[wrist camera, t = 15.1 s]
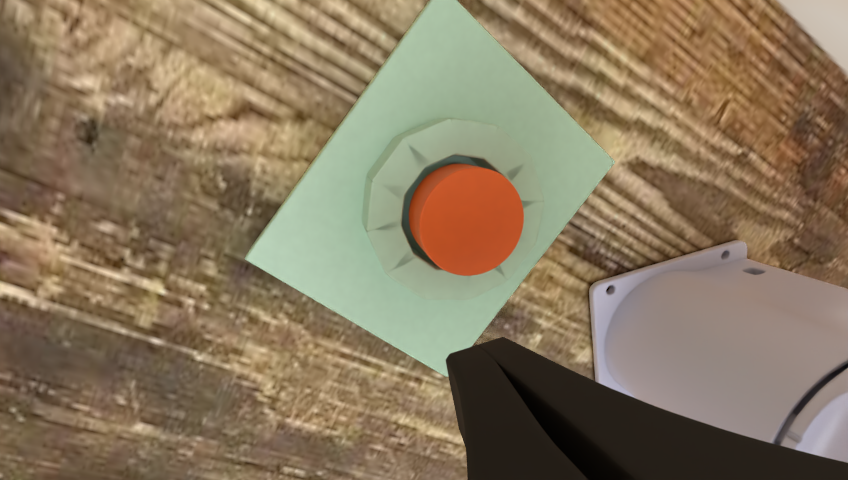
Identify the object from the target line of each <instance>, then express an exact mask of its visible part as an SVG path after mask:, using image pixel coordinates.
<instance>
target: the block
mask: <svg viewBox="0 0 848 480" xmlns="http://www.w3.org/2000/svg"><path fill="white" fill-rule="evenodd" d="M457 163H461V164H469V165H473V166H478V167H482V168H486V169H490V170H493V171H496V172H498V173H499V174H501V175H503V176H504V177H505V178H507V179H508V180H509V181H510V182H511V183H512V185H513V186H514V187H515V189H516V190H517V192H518V194H519V196H520V199H521V201H522V205H523V212H524V223H523V229H522V233H521V236H520V239H519V242H518V243H517V245H516V247H515V249H514V250H513V252H512V253H511V254H510V255H509V257H508V258H507V259H506V260H505V261H504V262H502V263H501V264H500V265H498V266H497V267H496V268H494V269H492V270H490V271H488V272H485V273H482V274H478V275H472V276H462V275H456V274H452V273H449V272H447V271H445V270H443V269H442V268H440V267H439V266H437V265H436V264H435V263H434V262H433V261H432V260H431V259H430V258H429V257H428V255H427V254H426V253H425V252H424V251H423V250H422V248H421V247H420V246H419V245H418V243H417V242H416V241H415V239H414V237H413V235H412V232H411V229H410V225H409V206H410V202H411V199H412V196H413V194H414V192H415V190H416V188H417V187H418V185H419V184H420V183H421V181H422V180H423V179H424V178H425V177H426V176H427V175H428V174H430V173H431V172H433V171H434V170H436V169H438V168H440V167H443V166H445V165H450V164H457ZM614 163H615V161H614V160H613V159H612V158H611V157H610V156H609V155H608V154H607V153H606V152H605V151H604V150H603V149H602V148H601V147H600V146H599V145H598V143H597V142H596V141H595V140H594V139H593V138H592V137H591V136H590V135H589V134H588V133H587V132H586V131H585V130H584V129H583V128H582V127H581V126H580V125H579V124H578V123H577V122H576V121H575V120H574V119H573V118H572V117H571V116H570V115H569V114H568V113H567V112H566V111H565V110H564V109H563V108H562V107H561V106H560V105H559V104H558V103H557V102H556V101H555V100H554V99H553V98H552V97H551V96H550V95H549V94H548V93H547V92H546V90H545V89H544V88H543V87H542V86H541V85H540V84H539V83H538V82H537V81H536V80H535V79H534V78H533V77H532V76H531V75H530V74H529V73H528V72H527V71H526V70H525V69H524V68H523V67H522V66H521V65H520V64H519V63H518V62H517V61H516V60H515V59H514V58H513V57H512V56H511V55H510V54H509V53H508V52H507V51H506V50H505V49H504V48H503V47H502V46H501V45H500V44H499V43H498V42H497V41H496V40H495V38H494V37H493V36H492V35H491V34H490V33H489V32H488V31H487V30H486V29H485V28H484V27H483V26H482V25H481V24H480V23H479V22H478V21H477V20H476V19H475V18H474V17H473V16H472V15H471V14H470V13H469V12H468V11H467V10H466V9H465V8H464V7H463V6H462V5H461V4H460V3H459V2H458V1H457V0H429V1H428V3H427V4H426V5H425V7H424V8H423V10H422V11H421V12H420V14H419V15H418V16H417V18H416V19H415V21H414V22H413V23H412V25H411V26H410V28H409V29H408V30H407V32H406V33H405V34H404V36H403V37H402V39H401V40H400V41H399V43H398V44H397V46H396V47H395V48H394V50H393V51H392V52H391V54H390V55H389V57H388V58H387V59H386V61H385V62H384V64H383V65H382V66H381V68H380V69H379V70H378V72H377V73H376V75H375V76H374V77H373V79H372V80H371V82H370V83H369V84H368V86H367V87H366V88H365V90H364V91H363V93H362V94H361V95H360V97H359V98H358V100H357V101H356V102H355V104H354V105H353V106H352V108H351V109H350V111H349V112H348V113H347V115H346V116H345V118H344V119H343V120H342V122H341V123H340V124H339V126H338V127H337V129H336V130H335V131H334V133H333V134H332V136H331V137H330V138H329V140H328V141H327V142H326V144H325V145H324V147H323V148H322V149H321V151H320V152H319V154H318V155H317V156H316V158H315V159H314V160H313V162H312V163H311V165H310V166H309V167H308V169H307V170H306V172H305V173H304V174H303V176H302V177H301V178H300V180H299V181H298V183H297V184H296V185H295V187H294V188H293V190H292V191H291V192H290V194H289V195H288V196H287V198H286V199H285V201H284V202H283V203H282V205H281V206H280V208H279V209H278V210H277V212H276V213H275V214H274V216H273V217H272V219H271V220H270V221H269V223H268V224H267V226H266V227H265V228H264V230H263V231H262V232H261V234H260V235H259V237H258V238H257V239H256V241H255V242H254V244H253V245H252V246H251V248H250V250H249V251H248V253H247V255H246V256H245V259H246V260H247V261H249V262H250V263H252V264H254V265H255V266H257V267H259V268H261V269H262V270H264V271H266V272H267V273H269V274H271V275H273V276H274V277H276V278H278V279H279V280H281V281H283V282H285V283H286V284H288V285H290V286H291V287H293V288H295V289H297V290H298V291H300V292H302V293H303V294H305V295H307V296H309V297H310V298H312V299H314V300H315V301H317V302H319V303H321V304H322V305H324V306H326V307H327V308H329V309H331V310H333V311H334V312H336V313H338V314H339V315H341V316H343V317H345V318H346V319H348V320H350V321H351V322H353V323H355V324H357V325H358V326H360V327H362V328H363V329H365V330H367V331H369V332H370V333H372V334H374V335H375V336H377V337H379V338H381V339H382V340H384V341H386V342H387V343H389V344H391V345H393V346H394V347H396V348H398V349H399V350H401V351H403V352H405V353H406V354H408V355H410V356H411V357H413V358H415V359H417V360H418V361H420V362H422V363H423V364H425V365H427V366H429V367H430V368H432V369H434V370H435V371H437V372H439V373H441V374H442V375H444V376H446V377H448V376H449V375H448V370H447V365H446V358H447V357H448V355H449V354H450V353H453V352H457V351H460V350H463V349H466V348H469V347H471V346H472V345H473V344H474V343H475V341H476V340H477V339H478V338H479V336H480V335H481V334H482V332H483V331H484V330H485V329H486V327H487V326H488V325H489V323H490V322H491V321H492V320H493V318H494V317H495V316H496V314H497V313H498V312H499V311H500V309H501V308H502V307H503V305H504V304H505V303H506V302H507V300H508V299H509V298H510V296H511V295H512V294H513V293H514V291H515V290H516V289H517V287H518V286H519V285H520V284H521V282H522V281H523V280H524V278H525V277H526V276H527V275H528V273H529V272H530V271H531V269H532V268H533V267H534V266H535V264H536V263H537V262H538V261H539V259H540V258H541V257H542V255H543V254H544V253H545V252H546V250H547V249H548V248H549V246H550V245H551V244H552V243H553V241H554V240H555V239H556V237H557V236H558V235H559V234H560V232H561V231H562V230H563V228H564V227H565V226H566V225H567V223H568V222H569V221H570V219H571V218H572V217H573V216H574V214H575V213H576V212H577V210H578V209H579V208H580V207H581V205H582V204H583V203H584V201H585V200H586V199H587V198H588V196H589V195H590V194H591V192H592V191H593V190H594V189H595V187H596V186H597V185H598V184H599V182H600V181H601V180H602V178H603V177H604V176H605V175H606V173H607V172H608V171H609V169H610V168H611V167H612V166H613V164H614Z"/></svg>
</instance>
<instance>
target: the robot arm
mask: <svg viewBox="0 0 848 480" xmlns="http://www.w3.org/2000/svg"><path fill="white" fill-rule="evenodd" d="M609 286H610V289H609V290H608V291H607V292H606V290H607V288H608V287H609ZM589 299H590V313H591V327H592V341H593V355H594V369H595V381H593V380H591V379H589V378H587V377H584V376H582V375H580V374H578V373H576V372H574V371H572V370H569V369H567V368H565V367H563V366H561V365H559V364H557V363H555V362H553V361H551V360H549V359H547V358H545V357H543V356H541V355H539V354H537V353H535V352H533V351H531V350H529V349H527V348H525V347H523V346H521V345H519V344H517V343H515V342H513V341H511V340H509V339H506V338H504V337H502V338H498V339H495V340H492V341H489V342H485V343H482V344H479V345H476V346H473V347H469V348H466V349H463V350H460V351H457V352H453V353H450V354H449V355H448V357H447V358H446V365H447V370H448V375H449V380H450V385H451V390H452V395H453V400H454V405H455V411H456V416H457V421H458V426H459V430H460V433H461V435H462V438H463V441H464V444H465V447H466V454H467V472H468V480H848V289H847V288H843V287H840V286H837V285H833V284H830V283H827V282H823V281H820V280H817V279H813V278H810V277H807V276H803V275H800V274H797V273H793V272H790V271H787V270H783V269H780V268H777V267H773V266H770V265H767V264H764V263H760V262H757V261H754V260H750V259H747V244H746V243H745V242H743V241H739V240H734V241H731V242H727V243H724V244H721V245H717V246H714V247H711V248H707V249H704V250H701V251H697V252H694V253H690V254H687V255H684V256H680V257H677V258H674V259H670V260H667V261H664V262H660V263H657V264H654V265H650V266H647V267H644V268H640V269H637V270H634V271H630V272H627V273H623V274H620V275H617V276H613V277H610V278H607V279H603V280H600V281H597V282H595V283H593V284H592V285H591V287H590V289H589Z"/></svg>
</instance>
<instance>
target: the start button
mask: <svg viewBox="0 0 848 480" xmlns="http://www.w3.org/2000/svg"><path fill="white" fill-rule="evenodd" d="M523 223H524V212H523V205H522V201H521V199H520V196H519V194H518V192H517V190H516V189H515V187H514V186H513V185H512V183H511V182H510V181H509V180H508V179H507V178H505V177H504V176H503V175H501V174H499V173H498V172H496V171H493V170H490V169H486V168H482V167H478V166H473V165H469V164H461V163H457V164H450V165H445V166H443V167H440V168H438V169H436V170H434V171H433V172H431V173H430V174H428V175H427V176H426V177H425V178H424V179H423V180H422V181H421V183H420V184H419V185H418V187H417V188H416V190H415V192H414V194H413V196H412V199H411V202H410V206H409V225H410V229H411V232H412V235H413V237H414V239H415V241H416V242H417V243H418V245H419V246H420V247H421V248H422V250H423V251H424V252H425V253H426V254H427V255H428V257H429V258H430V259H431V260H432V261H433V262H434V263H435V264H436V265H437V266H439V267H440V268H442V269H443V270H445V271H447V272H449V273H452V274H456V275H462V276H472V275H478V274H482V273H485V272H488V271H490V270H492V269H494V268H496V267H497V266H498V265H500V264H501V263H502V262H504V261H505V260H506V259H507V258H508V257H509V255H510V254H511V253H512V252H513V250H514V249H515V247H516V245H517V243H518V242H519V239H520V236H521V233H522V229H523Z"/></svg>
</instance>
